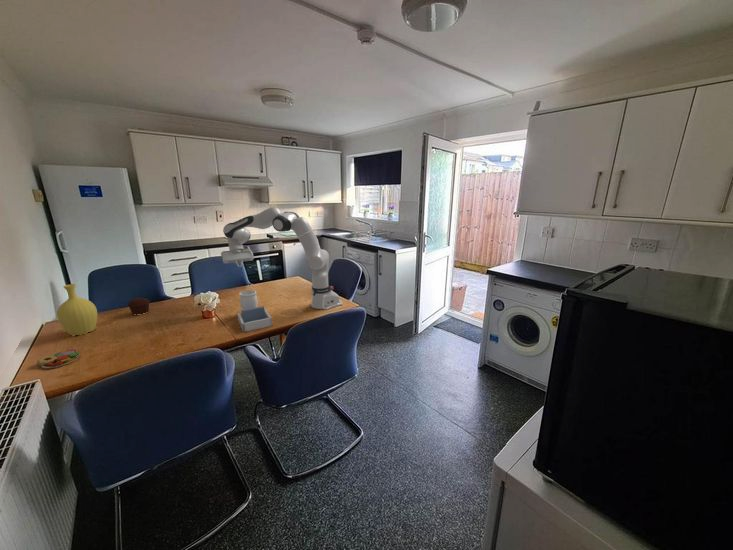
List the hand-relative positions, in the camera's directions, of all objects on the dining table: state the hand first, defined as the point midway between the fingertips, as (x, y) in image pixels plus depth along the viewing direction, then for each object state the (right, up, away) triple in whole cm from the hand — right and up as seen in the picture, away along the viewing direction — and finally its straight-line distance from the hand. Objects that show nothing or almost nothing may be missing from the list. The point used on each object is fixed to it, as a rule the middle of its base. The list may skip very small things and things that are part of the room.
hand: (240, 266), depth 204 cm
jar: (+12, -32, -12) cm, 36 cm away
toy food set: (-56, -47, -65) cm, 98 cm away
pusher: (+18, -34, -23) cm, 45 cm away
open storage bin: (+20, -35, -25) cm, 47 cm away
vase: (-74, -39, -36) cm, 91 cm away
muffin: (-61, -31, -10) cm, 70 cm away
